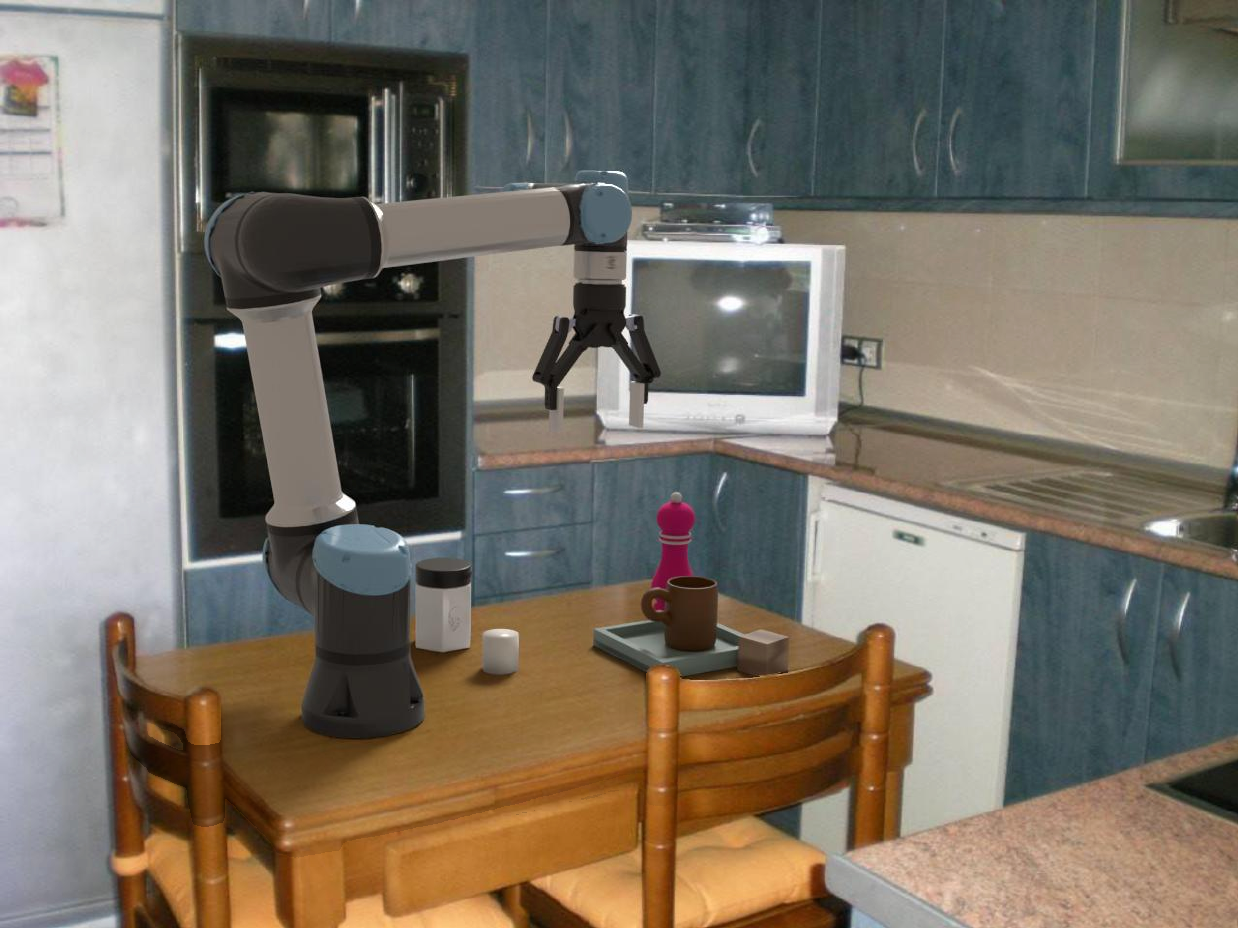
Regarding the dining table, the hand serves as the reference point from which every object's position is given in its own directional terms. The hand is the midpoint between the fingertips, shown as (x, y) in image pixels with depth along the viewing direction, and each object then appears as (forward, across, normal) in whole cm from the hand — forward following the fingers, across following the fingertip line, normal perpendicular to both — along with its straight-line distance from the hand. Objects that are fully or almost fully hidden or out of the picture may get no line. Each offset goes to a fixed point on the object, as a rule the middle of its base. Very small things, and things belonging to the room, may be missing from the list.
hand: (596, 429), depth 208 cm
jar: (+32, -20, +9) cm, 39 cm away
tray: (+32, +8, -11) cm, 34 cm away
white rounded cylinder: (+32, -18, -5) cm, 37 cm away
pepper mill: (+32, +18, +5) cm, 37 cm away
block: (+32, +14, -23) cm, 42 cm away
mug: (+31, +8, -11) cm, 34 cm away
